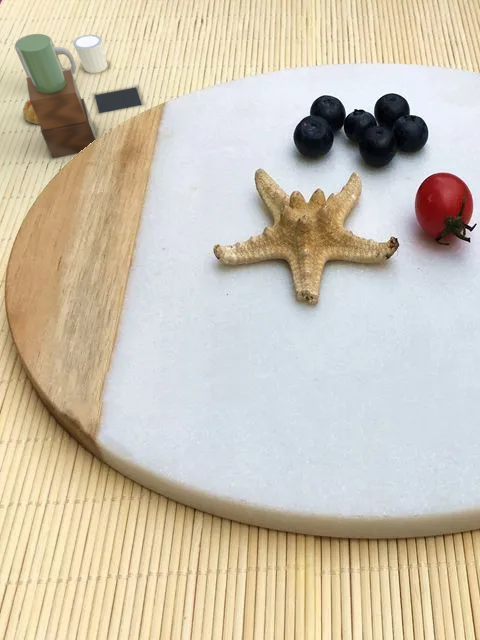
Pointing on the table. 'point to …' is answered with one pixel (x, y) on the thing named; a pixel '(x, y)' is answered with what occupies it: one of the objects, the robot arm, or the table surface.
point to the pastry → (30, 113)
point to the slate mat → (118, 100)
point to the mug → (58, 52)
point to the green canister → (42, 63)
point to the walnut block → (63, 118)
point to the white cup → (91, 53)
